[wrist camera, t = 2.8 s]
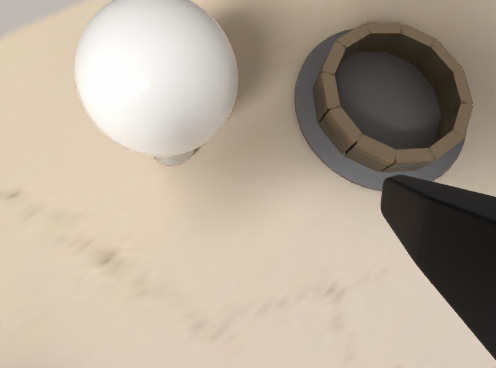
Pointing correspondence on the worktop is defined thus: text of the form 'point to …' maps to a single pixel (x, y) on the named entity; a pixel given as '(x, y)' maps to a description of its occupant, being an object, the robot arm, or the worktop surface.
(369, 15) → the worktop surface
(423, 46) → the socket collar
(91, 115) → the lightbulb
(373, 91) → the socket mat
